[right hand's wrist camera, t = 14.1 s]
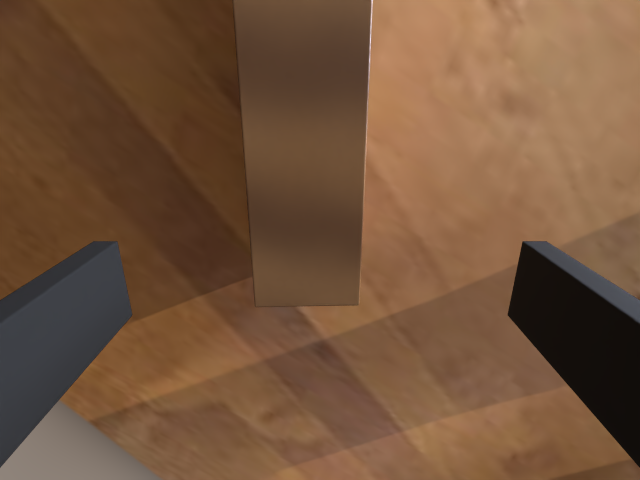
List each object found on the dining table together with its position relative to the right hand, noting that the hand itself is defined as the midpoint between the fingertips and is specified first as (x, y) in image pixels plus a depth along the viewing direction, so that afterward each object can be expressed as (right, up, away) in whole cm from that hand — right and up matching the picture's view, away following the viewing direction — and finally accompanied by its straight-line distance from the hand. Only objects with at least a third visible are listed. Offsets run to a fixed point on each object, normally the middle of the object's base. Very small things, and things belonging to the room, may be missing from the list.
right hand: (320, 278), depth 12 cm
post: (-1, +35, 0) cm, 35 cm away
